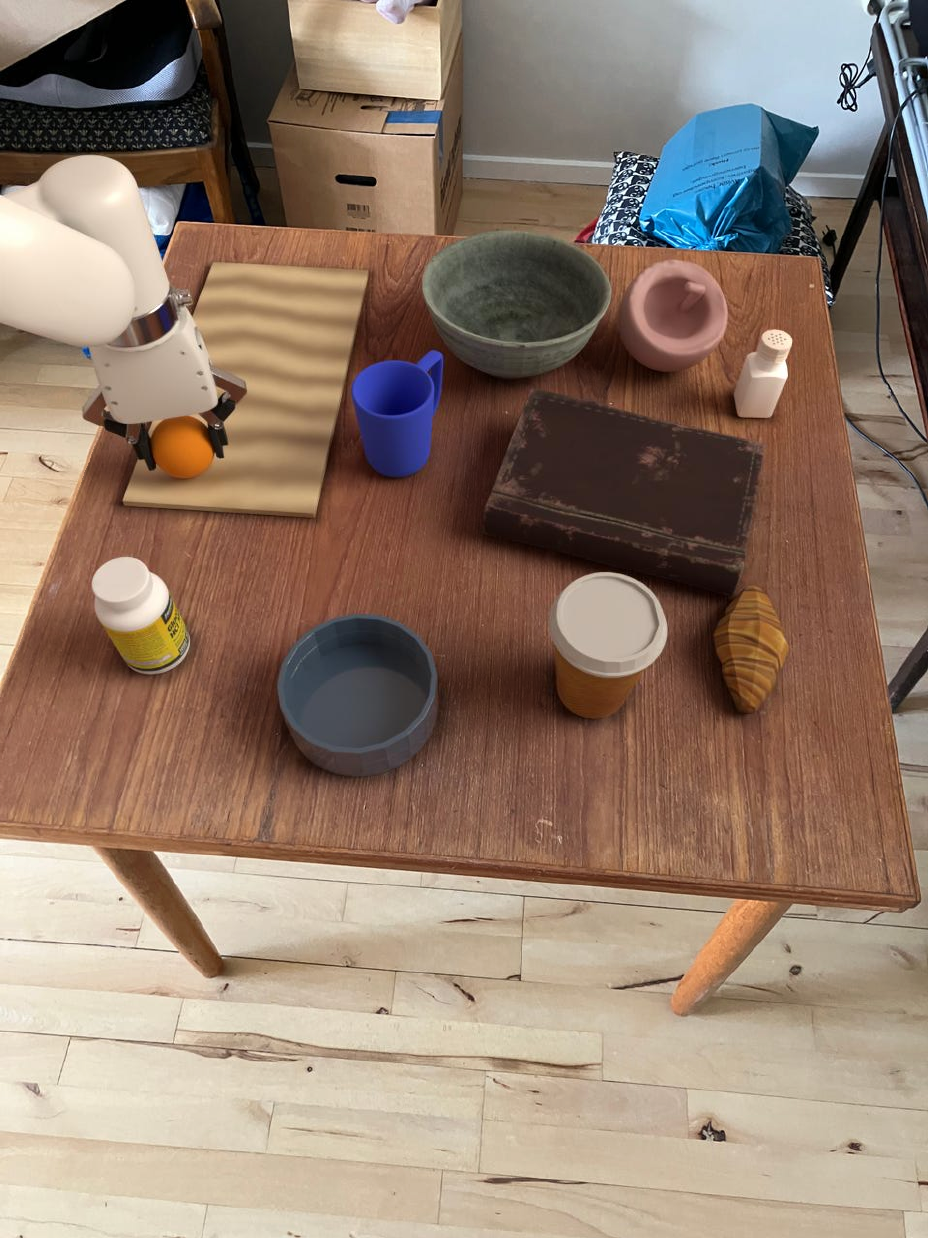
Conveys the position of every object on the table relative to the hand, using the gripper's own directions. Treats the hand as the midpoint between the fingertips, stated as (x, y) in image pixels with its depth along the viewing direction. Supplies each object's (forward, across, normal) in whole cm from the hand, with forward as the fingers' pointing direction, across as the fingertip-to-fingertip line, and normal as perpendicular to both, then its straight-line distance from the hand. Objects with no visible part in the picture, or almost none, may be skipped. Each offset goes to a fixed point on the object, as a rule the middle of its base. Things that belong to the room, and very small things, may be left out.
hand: (185, 453), depth 91 cm
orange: (-1, 0, 0) cm, 1 cm away
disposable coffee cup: (+3, -33, +35) cm, 48 cm away
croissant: (+3, -48, +35) cm, 60 cm away
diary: (+3, -43, +15) cm, 46 cm away
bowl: (+3, -38, -10) cm, 40 cm away
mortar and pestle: (+3, -55, -5) cm, 55 cm away
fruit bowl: (+3, -13, +32) cm, 34 cm away
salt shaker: (+3, -62, +5) cm, 62 cm away
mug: (+3, -23, +2) cm, 23 cm away
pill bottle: (+3, +5, +21) cm, 22 cm away
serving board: (+3, -8, -13) cm, 16 cm away
